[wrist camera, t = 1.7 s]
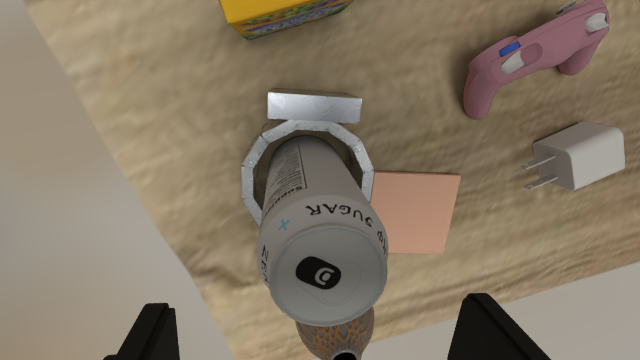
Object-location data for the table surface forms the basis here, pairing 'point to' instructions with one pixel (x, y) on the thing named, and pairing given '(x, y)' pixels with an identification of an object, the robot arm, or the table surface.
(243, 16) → the crayon box
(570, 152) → the usb wall charger
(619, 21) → the table surface
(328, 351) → the vase
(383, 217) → the coaster
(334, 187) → the energy drink can
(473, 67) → the video game controller
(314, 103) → the ring holder
